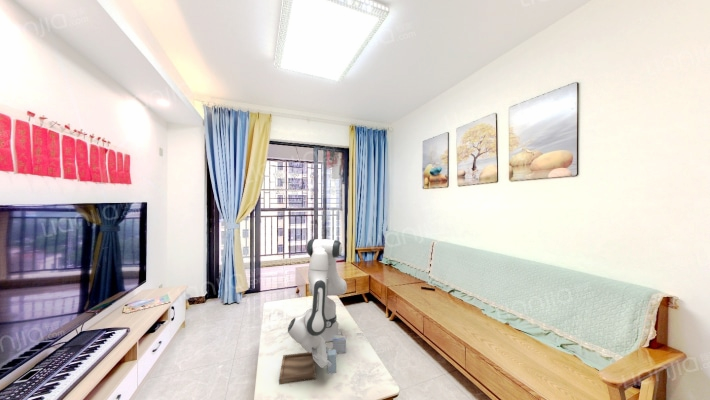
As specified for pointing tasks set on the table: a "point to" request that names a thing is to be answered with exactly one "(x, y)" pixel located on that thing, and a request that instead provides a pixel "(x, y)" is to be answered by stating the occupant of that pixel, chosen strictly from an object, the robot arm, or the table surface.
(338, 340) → the medicine box
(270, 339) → the table surface
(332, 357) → the slate block
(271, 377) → the table surface
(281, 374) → the walnut tray
